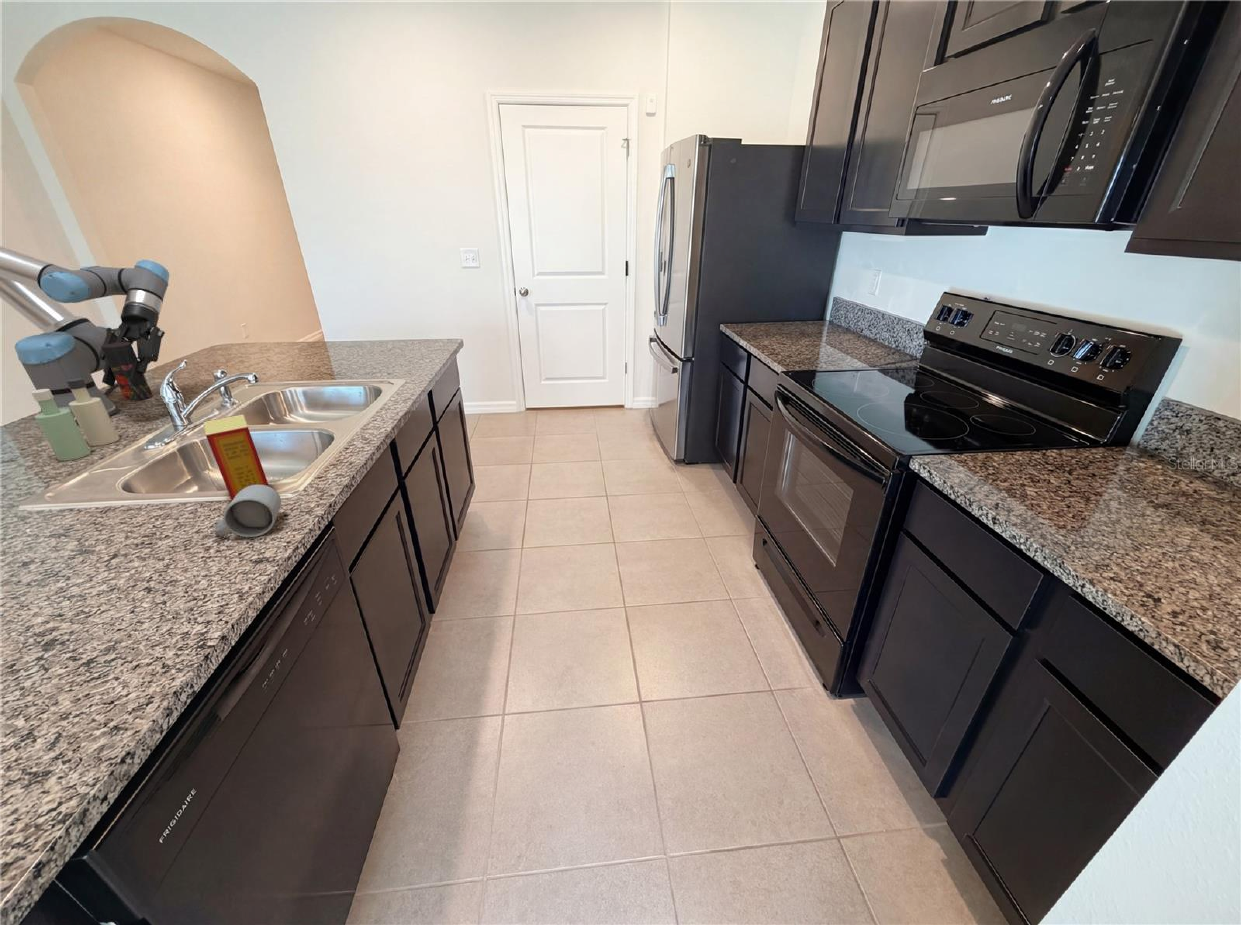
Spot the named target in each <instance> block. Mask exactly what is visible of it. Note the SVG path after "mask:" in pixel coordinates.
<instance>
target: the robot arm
mask: <svg viewBox="0 0 1241 925" xmlns="http://www.w3.org/2000/svg"><path fill="white" fill-rule="evenodd" d="M169 280H170V272H169V270H168V269H167V268H166V267H165V266H164V265H162V264H161V263H158V262H156V261H154V260H150V259H140V260H138V261H137V262H135V264H134V267H109V266H100V265H93V266H89V265H88V266H82V267H80V269H69V268H66V267H62V266H60V265H56V264H54V263H51V262H48V261H45V260H42V259H39V258H38V257H37V258H36V257H33V256H30V255H29V254H28V255H27V254H26V253H25V254H24V253H21V252H19V251H17V250H13V249H10V248H7V247H4V246H1V245H0V299H1V300H2V301H4V302H5V303H6V304H8V305H9V306H10V307H12V308H13V309H14V310H15V311H17V312H18V313H19V314H20V315H22V316H23V317H24V318H25V319H27V321H29V322H30V323H32V324H33V325H34V326H35V327H37V328H38V329H39V330H40V331H42V332H43V333H40V334H33V335H30V336H26V337H24V338H21V339H20V340H18V341H17V342H15V344H14V350H15V353H16V354H17V359H18V361H19V362H20V363H21V365H22V367H23V369H24V370H25V372H26V374H27V376H28V378H29V379H30V381H31V382H32V386H34V388H35V390H40V389H50V391H51V393H52V395H53V397H54V398H53V399H54V401H55V403H56V405H57V407H58V409H69V410H70V412H71V414H72V416H73V418H74V420H75V422H76V424H77V425H79V423H78V422H77V420H76V418H75V416H74V414H73V412H72V410H71V408H70V406H69V403H70V402H73V401H76V398H75V396H74V394H73V392H72V390H71V389H69V387H68V385H67V383H66V381H67V380H70V379H75V378H82V379H83V380H84V382H85V384H86V389H87V391H88V393H89V395H90V397H91V398H95V397H96V398H101V400H102V402H103V405H104V407H105V409H106V411H107V413H108V415H109V417H110V416H113V415H114V414H116V413H117V412H118V409H117V407H116V405H115V404H114V403H113V402H112V400H111V399H109V397H108V396H107V395H109V393H110V392H111V391H112V390H113V389H115V388H117V387H119V385H118V383H117V381H116V379H115V377H114V374H113V372H112V370H111V368H110V366H109V363H108V361H107V359H106V357H105V355H104V352H103V350H102V348H101V346H103V345H107V344H112V343H122V342H129V343H131V345H132V346H133V344H134V342H136V350H137V351H136V352H137V356H136V358H137V359H138V360H134V363H133V367H132V370H131V374H130V378H129V382H131V383H133V384H134V385H136V386H140V384H141V380H142V376H143V374H144V375H145V374H146V373H147V369H148V366H149V364H150V363H153V362H154V363H156V362H158V361H159V357H160V356H159V354H160V349H161V344H162V339H163V338H164V336H165V334H166V331H164V330H163V329H161V328H160V327H159V326H158V322H159V318H160V314H161V312H162V311H161V310H162V307H163V303H164V299H165V295H166V292H167V289H168V287H169ZM111 296H125V300H124V302H123V307H122V310H121V313H120V320H121V322H120V324H119V325H118V327H115V328H111V327H105V326H100V325H98V326H97V325H96V324H95V323H93V322H92V321H91V320H90V319H89V318H87V317H86V316H80V315H79V316H77V315H76V314H74V313H73V312H71V311H70V310H69V309H68V308H66V307H65V306H64V305H63V304H78V303H82V302H85V301H90V300H94V299H101V298H107V297H111ZM100 371H102V372H103V373H104V374H103V377H102V380H101V383H103V384H105V385H107V386H108V387H109V388H107V389H106V390H105V392H102V390H101V389H100V388H99V387H98V386H97V384H96V382H95V380H94V377H93V375H92V374H94V373H97V372H100ZM40 413H43V411H42V410H41V409H40Z"/></svg>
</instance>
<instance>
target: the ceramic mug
mask: <svg viewBox="0 0 1241 925" xmlns="http://www.w3.org/2000/svg"><path fill="white" fill-rule="evenodd" d="M281 506H282V500H281V496H280V494H279V492H277V491H276V489H274V488H272V487H271V486H270V485H269V486H266V485H251V486H248V487H246V488H244V489H243V490H241V491H240V492H239V493H238V494H237V495H236V496H235V498H234V499H233V500H231V502H229V503H228V505H227V506H226V508H225V509H224V512H223V516H222V520H220V521H219V522H218V523H217V524H216V525H215V526H214V528H213V531H214V533H215V534H216V535H218V536H219V537H224V536H227V535H228V534H229V535H230V534H231V533H233V535H236V536H240V537H243V538H255V537H260V536H263V535H265V534H266V533H268V532H269V531H270V530H271V529H273V527H274V525H275V523H276V520H277V517H278V515H279V512H280V510H281Z"/></svg>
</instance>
